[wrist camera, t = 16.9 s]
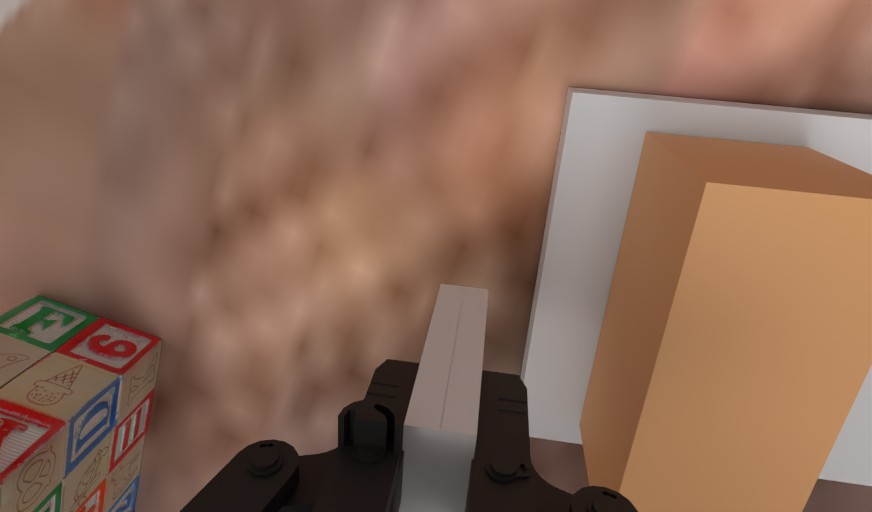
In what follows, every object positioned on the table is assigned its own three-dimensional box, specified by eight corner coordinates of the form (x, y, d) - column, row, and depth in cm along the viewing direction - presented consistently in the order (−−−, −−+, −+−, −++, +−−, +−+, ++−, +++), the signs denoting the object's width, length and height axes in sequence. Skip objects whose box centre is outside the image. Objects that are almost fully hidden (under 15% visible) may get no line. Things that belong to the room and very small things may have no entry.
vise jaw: (704, 443, 22) (768, 582, 17) (579, 425, 23) (600, 555, 17) (808, 147, 17) (946, 206, 12) (646, 131, 18) (706, 182, 12)
